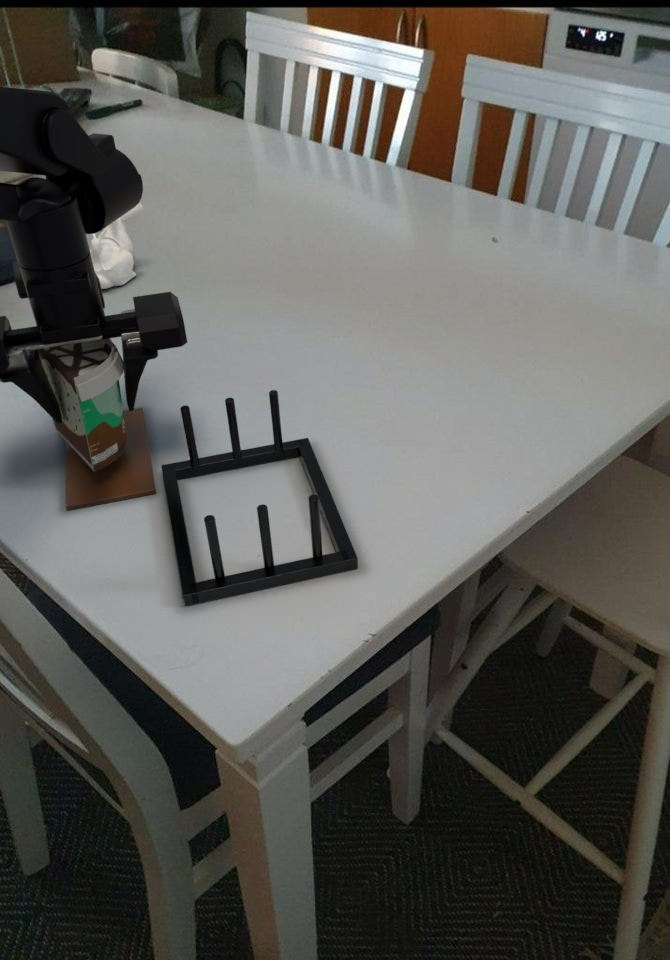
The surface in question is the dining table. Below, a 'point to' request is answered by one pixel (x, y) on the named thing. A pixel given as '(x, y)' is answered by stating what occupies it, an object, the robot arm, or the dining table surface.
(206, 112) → the dining table surface
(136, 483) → the walnut board
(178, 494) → the drying rack
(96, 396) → the food container
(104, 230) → the white sculpted figure
